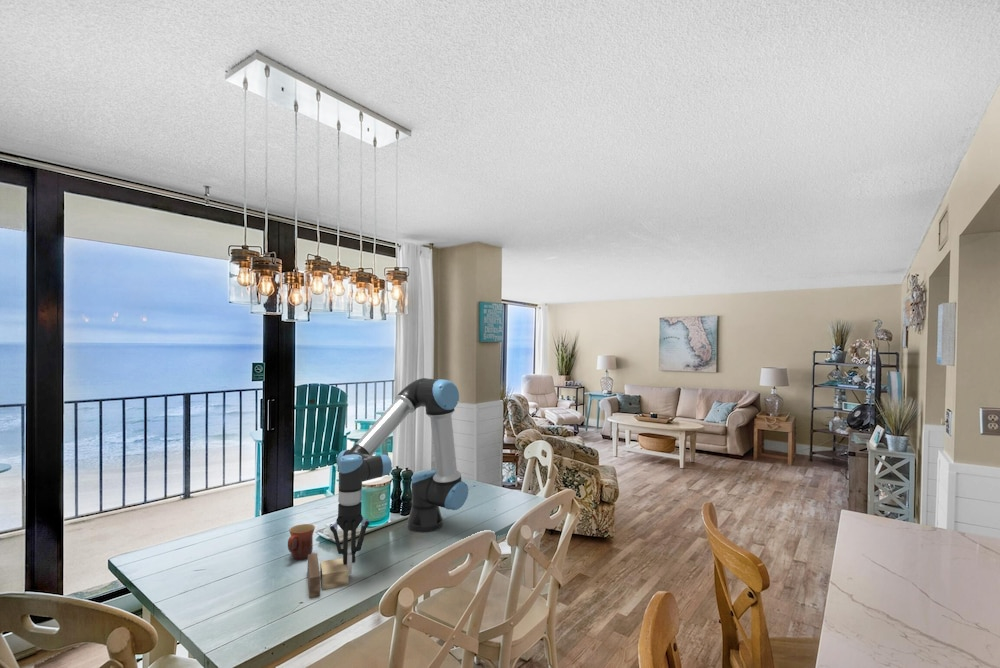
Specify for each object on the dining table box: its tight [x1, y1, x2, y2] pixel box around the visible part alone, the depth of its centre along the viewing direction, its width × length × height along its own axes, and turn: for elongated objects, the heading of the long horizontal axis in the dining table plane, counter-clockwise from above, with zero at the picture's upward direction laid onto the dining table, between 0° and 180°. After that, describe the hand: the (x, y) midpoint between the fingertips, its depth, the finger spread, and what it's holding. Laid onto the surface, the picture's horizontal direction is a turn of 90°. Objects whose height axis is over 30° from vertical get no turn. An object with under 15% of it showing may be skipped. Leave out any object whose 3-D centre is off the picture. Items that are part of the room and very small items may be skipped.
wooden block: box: [307, 552, 321, 599], centre depth 157 cm, size 3×18×6 cm, turn 24°
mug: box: [287, 523, 316, 561], centre depth 175 cm, size 12×9×10 cm
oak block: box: [319, 557, 349, 590], centre depth 159 cm, size 8×10×5 cm
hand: (348, 572), depth 161 cm, fingers closed
